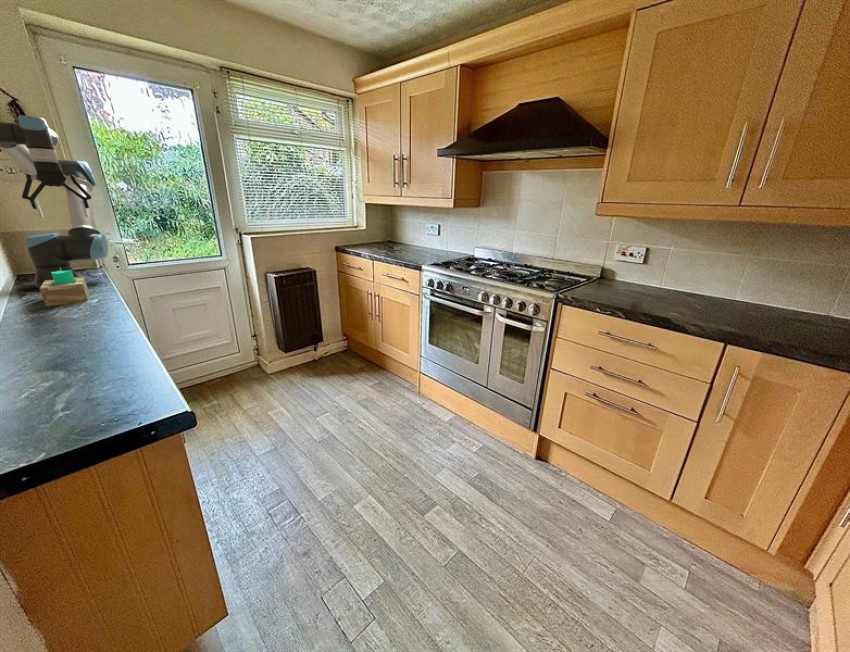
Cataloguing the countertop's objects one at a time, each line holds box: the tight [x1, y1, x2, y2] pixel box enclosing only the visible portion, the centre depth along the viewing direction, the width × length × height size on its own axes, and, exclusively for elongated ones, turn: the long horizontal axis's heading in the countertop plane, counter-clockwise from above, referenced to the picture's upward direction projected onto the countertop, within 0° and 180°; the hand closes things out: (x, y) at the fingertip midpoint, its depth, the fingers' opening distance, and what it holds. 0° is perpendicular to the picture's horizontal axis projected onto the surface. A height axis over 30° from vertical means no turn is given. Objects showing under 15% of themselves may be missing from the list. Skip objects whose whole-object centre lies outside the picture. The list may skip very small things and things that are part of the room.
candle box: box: [39, 276, 90, 307], centre depth 144 cm, size 16×12×7 cm
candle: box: [51, 268, 75, 285], centre depth 143 cm, size 6×6×12 cm
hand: (65, 217), depth 146 cm, fingers open, 13 cm apart
